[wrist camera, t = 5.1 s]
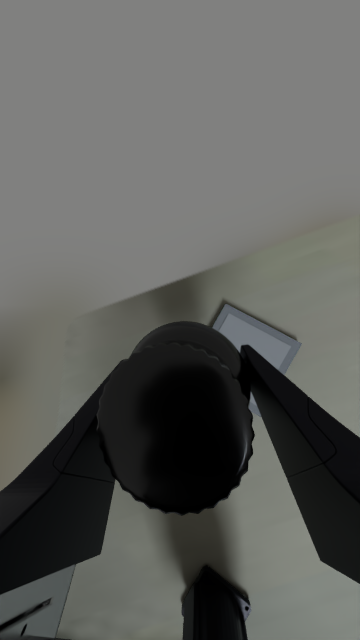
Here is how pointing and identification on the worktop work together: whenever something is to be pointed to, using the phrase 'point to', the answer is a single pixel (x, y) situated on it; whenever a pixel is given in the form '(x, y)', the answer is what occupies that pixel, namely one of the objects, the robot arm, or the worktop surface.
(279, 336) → the plate
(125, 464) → the supplement bottle
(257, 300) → the worktop surface
